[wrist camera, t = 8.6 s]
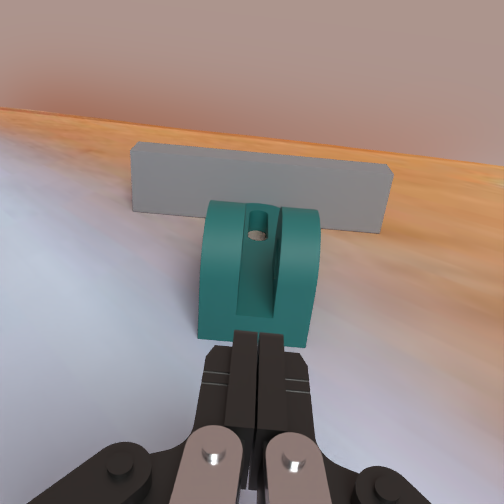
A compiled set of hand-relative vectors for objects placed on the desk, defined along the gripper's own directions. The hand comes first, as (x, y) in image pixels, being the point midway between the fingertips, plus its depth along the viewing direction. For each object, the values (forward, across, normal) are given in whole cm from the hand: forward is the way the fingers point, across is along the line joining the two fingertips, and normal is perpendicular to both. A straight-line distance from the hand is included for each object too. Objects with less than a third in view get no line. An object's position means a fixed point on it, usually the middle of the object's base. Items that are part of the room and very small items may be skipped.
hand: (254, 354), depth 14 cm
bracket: (+21, 0, +10) cm, 23 cm away
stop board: (+31, 0, +10) cm, 33 cm away
